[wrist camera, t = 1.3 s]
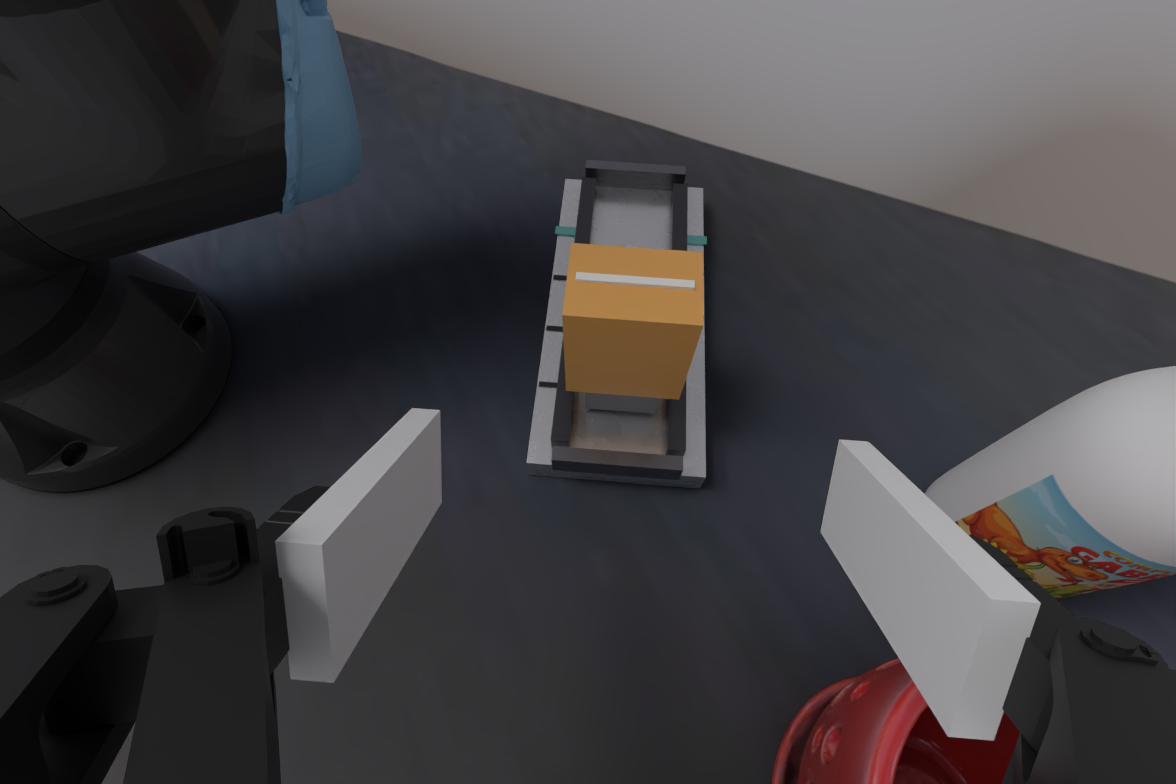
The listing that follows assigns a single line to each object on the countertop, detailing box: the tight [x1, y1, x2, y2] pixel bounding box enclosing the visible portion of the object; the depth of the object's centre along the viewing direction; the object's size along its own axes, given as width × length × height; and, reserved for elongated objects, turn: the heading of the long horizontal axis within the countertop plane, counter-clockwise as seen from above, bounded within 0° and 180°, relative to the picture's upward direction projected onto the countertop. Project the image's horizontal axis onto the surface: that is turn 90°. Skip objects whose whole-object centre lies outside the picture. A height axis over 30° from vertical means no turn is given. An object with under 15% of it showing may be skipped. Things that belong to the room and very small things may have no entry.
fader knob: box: [562, 243, 704, 414], centre depth 30 cm, size 4×6×10 cm, turn 85°
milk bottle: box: [925, 366, 1176, 600], centre depth 24 cm, size 8×8×20 cm
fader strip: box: [526, 160, 707, 489], centre depth 38 cm, size 23×10×4 cm, turn 175°
